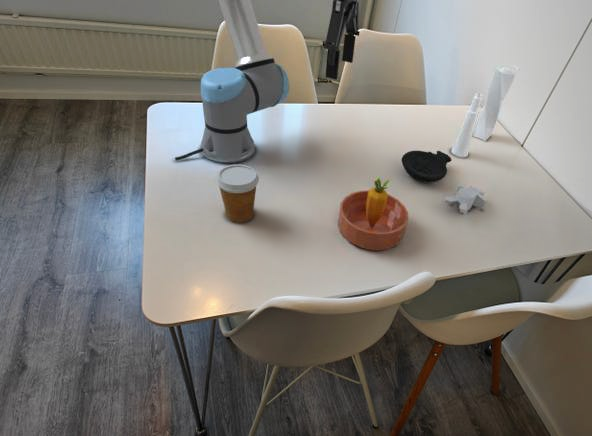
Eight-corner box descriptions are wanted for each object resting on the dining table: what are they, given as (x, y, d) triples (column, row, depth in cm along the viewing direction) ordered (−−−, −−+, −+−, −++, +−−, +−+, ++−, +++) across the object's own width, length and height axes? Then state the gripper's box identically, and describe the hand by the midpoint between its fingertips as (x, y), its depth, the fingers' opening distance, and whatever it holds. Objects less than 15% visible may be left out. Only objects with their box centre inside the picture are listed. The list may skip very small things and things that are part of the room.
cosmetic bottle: (461, 148, 146) (480, 89, 132) (471, 156, 142) (492, 97, 128) (447, 149, 144) (466, 90, 130) (457, 158, 140) (477, 98, 126)
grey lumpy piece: (494, 193, 118) (471, 207, 108) (487, 207, 121) (464, 222, 111) (467, 178, 123) (442, 190, 112) (461, 192, 125) (436, 205, 115)
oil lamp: (462, 176, 131) (467, 163, 128) (423, 194, 119) (427, 180, 116) (429, 155, 138) (432, 142, 135) (389, 170, 127) (392, 156, 124)
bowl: (346, 255, 95) (349, 236, 91) (331, 209, 107) (333, 191, 103) (413, 248, 100) (418, 231, 96) (391, 206, 112) (395, 189, 109)
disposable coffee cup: (239, 232, 95) (237, 191, 88) (211, 215, 98) (206, 174, 91) (267, 213, 102) (267, 174, 95) (240, 198, 105) (237, 158, 98)
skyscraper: (494, 137, 158) (522, 65, 140) (488, 143, 152) (516, 70, 135) (475, 129, 160) (500, 58, 143) (469, 135, 155) (494, 63, 137)
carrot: (381, 222, 105) (392, 174, 96) (380, 234, 101) (391, 186, 92) (362, 218, 105) (371, 170, 96) (360, 230, 101) (370, 182, 92)
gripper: (351, -18, 77) (339, 89, 90) (379, -32, 96) (366, 58, 109) (313, -26, 77) (307, 81, 91) (349, -38, 97) (339, 52, 110)
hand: (339, 69), depth 100 cm, fingers open, 13 cm apart
